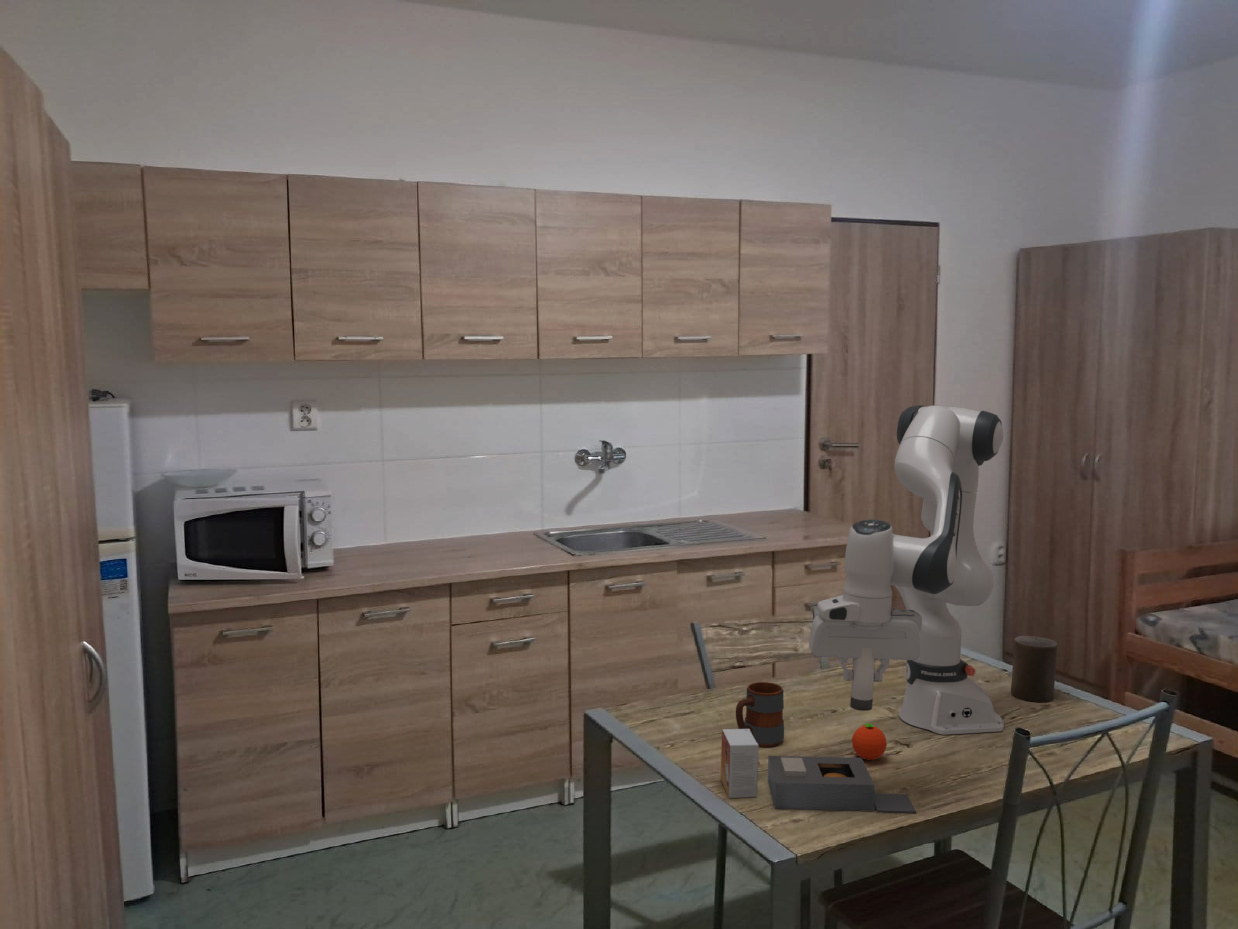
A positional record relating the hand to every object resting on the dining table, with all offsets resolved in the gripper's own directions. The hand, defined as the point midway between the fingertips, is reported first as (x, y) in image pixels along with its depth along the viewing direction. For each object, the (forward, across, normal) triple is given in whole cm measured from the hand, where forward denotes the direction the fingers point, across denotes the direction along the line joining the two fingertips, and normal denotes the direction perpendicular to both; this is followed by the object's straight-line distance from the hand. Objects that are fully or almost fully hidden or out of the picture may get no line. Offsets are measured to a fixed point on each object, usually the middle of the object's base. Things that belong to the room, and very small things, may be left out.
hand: (862, 680), depth 187 cm
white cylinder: (+5, 0, 0) cm, 5 cm away
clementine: (+22, -6, -17) cm, 29 cm away
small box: (+23, +22, -2) cm, 32 cm away
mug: (+22, +16, -24) cm, 37 cm away
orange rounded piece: (+20, +4, +1) cm, 21 cm away
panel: (+22, +7, +1) cm, 24 cm away
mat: (+22, -6, +4) cm, 23 cm away
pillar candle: (+20, -54, -56) cm, 81 cm away
